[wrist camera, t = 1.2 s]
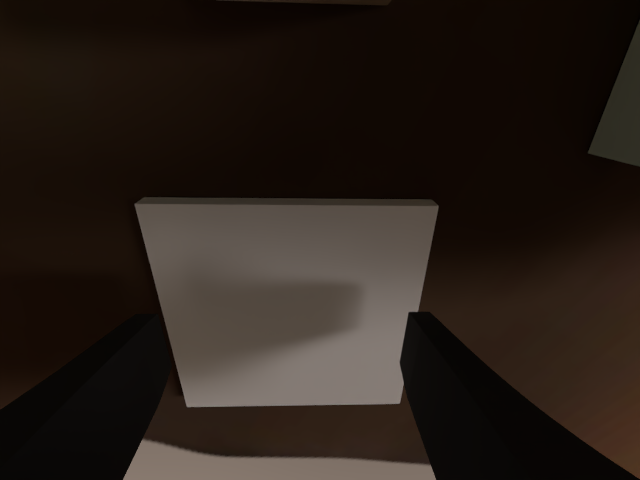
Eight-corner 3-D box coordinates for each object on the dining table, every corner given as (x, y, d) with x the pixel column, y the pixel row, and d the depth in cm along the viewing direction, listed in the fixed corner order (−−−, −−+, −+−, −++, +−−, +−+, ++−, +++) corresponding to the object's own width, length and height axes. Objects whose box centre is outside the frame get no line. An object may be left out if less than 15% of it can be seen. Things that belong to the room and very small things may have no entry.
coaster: (431, 199, 10) (438, 205, 10) (396, 391, 14) (399, 403, 14) (144, 197, 10) (134, 204, 9) (191, 394, 14) (187, 407, 13)
